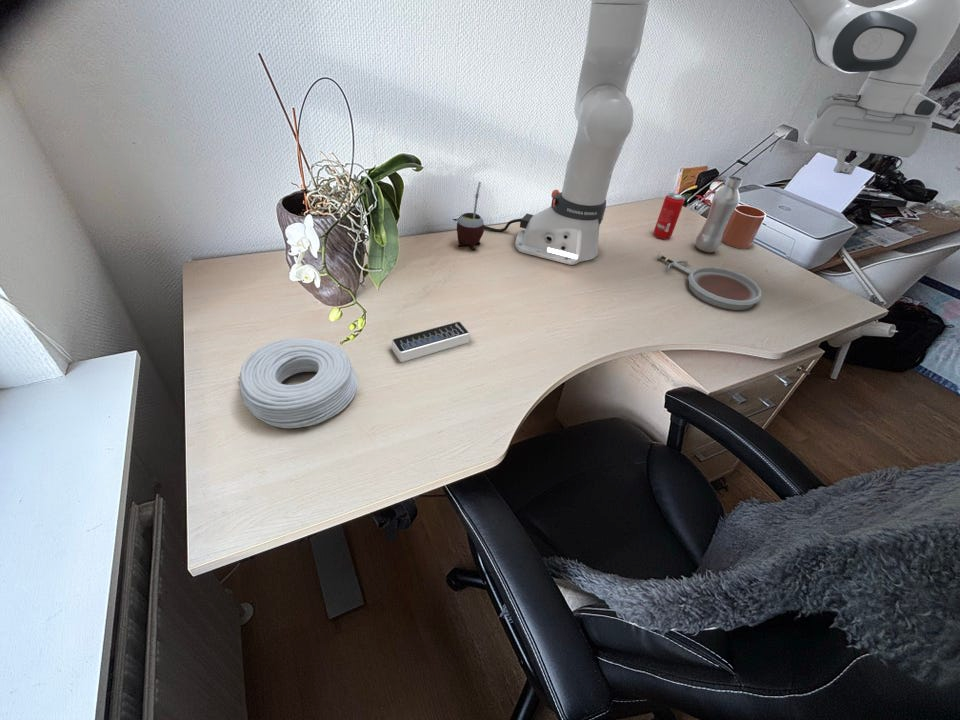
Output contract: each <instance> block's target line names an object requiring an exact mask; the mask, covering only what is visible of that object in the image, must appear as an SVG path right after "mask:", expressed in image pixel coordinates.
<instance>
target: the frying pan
mask: <svg viewBox="0 0 960 720" xmlns="http://www.w3.org/2000/svg"><path fill="white" fill-rule="evenodd" d="M657 259H658V260H662V261H665V262H666V263H668V265H667V268H666V272H669V271H670V267H673V266H674V267H676V268H677V269H679V270H682V271H683V272H686V273H687V274H688V277H687V279H688V288H689V289H690V291H691V292H692V294H694V296H696V297H697V298H698V299H700V300H702V301H703V302H705V303H707V304H710V305H712V306H714V307H717V308H721V309H726V310H732V311H743V310H744V311H745V310H747V309H750V308H752V307H753V306H754V305H756V304H758V303H759V302H760V301H761V300H762V294H763V293H762V289H761V287H760V286H759V284H758V283H756V282H755V281H754V280H753V279H752V278H750V277H748V276H747V275H744V274H742V273H740V272H737V271H735V270H732V269H728V268H724V267H719V266H700V267H696V268H694V270H691V269H689V268H687V267H685V266H683V265H682V264H685V265H686V264H688V262H689V260H685V259H679V260H676V261H673V260H671V259H669V257H666V256H665V255H664V253H658V254H657Z"/></svg>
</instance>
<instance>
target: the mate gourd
mask: <svg viewBox="0 0 960 720" xmlns="http://www.w3.org/2000/svg"><path fill="white" fill-rule="evenodd" d="M481 184H482V182H481V181H479V182H478V184H477V188H476V192H475V195H474V198H475V200H474V206H473V207H474V208H473V212H464V213H462V214H461V215H460V217H459V218H458V219H457V223H456V234H457V241H458V244H457V247H458V248H459V249H460V248H469V249H470V251H472V252H475V251H476V248H475V247H476V246H480V245H481V242H480V241H481V239H482V237H483V235H484V231H485V229H484V226H485V224H484V223H485V222H484V220H483V217H482V216H481V215H480V214H478V213H477V207H478V200H479V196H480V194H479V193H480V188H481Z"/></svg>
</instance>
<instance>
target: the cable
mask: <svg viewBox="0 0 960 720" xmlns="http://www.w3.org/2000/svg"><path fill="white" fill-rule="evenodd" d="M305 372H313V373H316V374H315V375H313V377H311V378H310V379H309V380H306V381H304V382H300V383H297V384H284V383H282V382H284V381H285V380H286V379H288V378H290V377H292V376H293V375H296V374H299V373H305ZM357 379H358V378H357V375H356V373H355V370H354V369H353V367H352V363H351V360H350V358H349V357H348V354H347V353H346V352H345V351H344V350H343V349H341V348H340V347H339V346H337V345H335V344H333V343H331V342H328V341H324V340H321V339H316V338H311V337H310V338H308V337H307V338H306V337H292V338H291V337H289V338H282V339H278V340H274V341H271V342H269V343H267V344H265V345H261V346H260V347H259V348H257V349H256V350H255V351H253V352H252V353H251V354H249V356H247V358H246V359H245V360H244V362H243V364H242V366H241V369H240V372H239V376H238V383H239V389H240V395H241V398H242V401H243V403H244V405H245V406H246V408H247V409H248V411H249V412H250V413H251V414H252V415H253V416H254V417H255V418H256V419H258V420H260V421H262V422H263V423H264V424H268V425H270V426H271V427H276V428H282V429H297V428H298V429H299V428H304V427H311V426H315V425H317V424H320V423H323V422H324V421H327V420H329V419H331V418H333V417H334V416H337V414H340V412H342V411H343V410H344V409H346V408H347V406H348V405H349V404H350V403H351V402H352V400H353V399H354V397H355V395H356V393H357V389H358V382H357V381H358V380H357Z"/></svg>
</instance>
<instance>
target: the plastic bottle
mask: <svg viewBox="0 0 960 720" xmlns="http://www.w3.org/2000/svg"><path fill="white" fill-rule="evenodd" d="M742 183H743V178H741V177H739V176H737V175H728V176H727V178H726V179H725V181H724V186H722V187H721V188H719V189H718V190H717V191H716V192H715V193H714V194H713V196H712V199H711V204H710V208H709V211H708V215H707V217H706V220H705V222H704V224H703V226H702V228H701V230H700V231H699V232H698V234H697V235H696V238H695V247H696V248H697V249H698V250H700V251H702V252H705V253H714V252H716V251H717V250H719V248H720V247H721V246H722V245H721V244H722V236H723V233H724V230H725V227H726V225H727V223H728V221H729V219H730V217H731V215H732V213H733V211H734V210H735V208H736V207H737V205H739V203H740V199H741V197H740V192H739V189H740V188H741V185H742Z"/></svg>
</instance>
